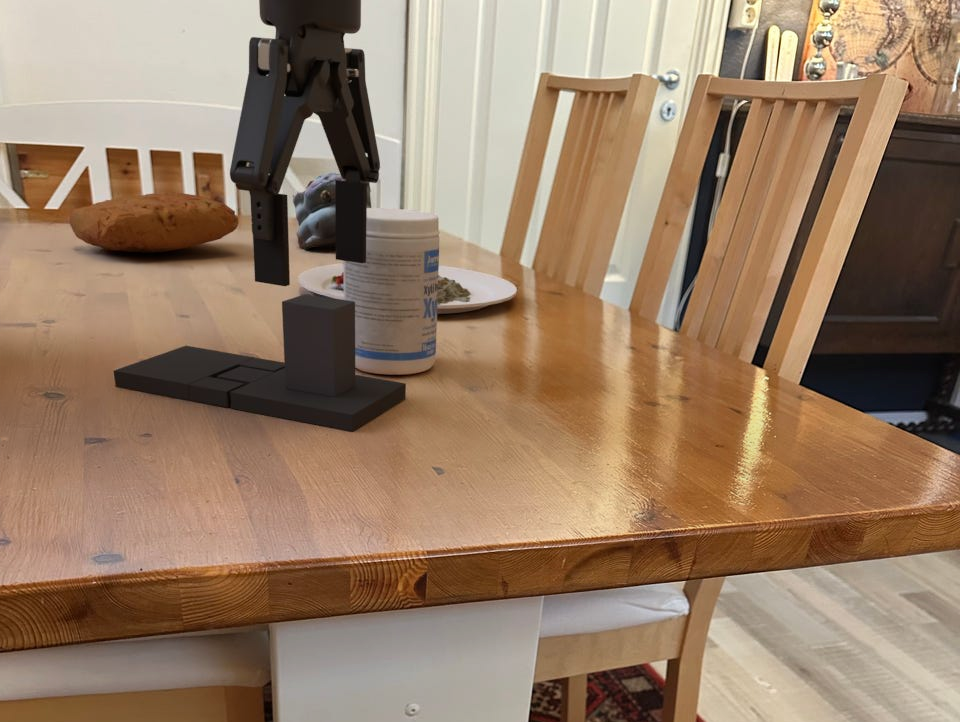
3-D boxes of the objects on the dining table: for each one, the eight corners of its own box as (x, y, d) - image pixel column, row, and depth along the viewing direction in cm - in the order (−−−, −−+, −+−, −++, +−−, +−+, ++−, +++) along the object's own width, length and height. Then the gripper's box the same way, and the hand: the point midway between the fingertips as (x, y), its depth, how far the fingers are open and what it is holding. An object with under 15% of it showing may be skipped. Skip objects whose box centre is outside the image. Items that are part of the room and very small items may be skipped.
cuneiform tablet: (199, 240, 157) (195, 188, 152) (248, 258, 146) (244, 202, 142) (65, 246, 144) (56, 189, 140) (108, 266, 133) (100, 204, 129)
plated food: (552, 317, 123) (555, 291, 121) (330, 323, 112) (330, 294, 110) (467, 274, 146) (468, 251, 144) (277, 275, 135) (276, 251, 133)
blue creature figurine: (284, 249, 154) (271, 163, 153) (314, 270, 166) (302, 190, 165) (368, 229, 150) (355, 141, 149) (393, 251, 162) (381, 170, 161)
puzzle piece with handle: (195, 401, 83) (185, 297, 78) (261, 373, 92) (255, 277, 87) (352, 431, 79) (352, 323, 74) (405, 398, 88) (408, 300, 83)
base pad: (115, 386, 85) (113, 370, 85) (187, 360, 94) (185, 345, 94) (228, 408, 82) (226, 391, 81) (291, 378, 91) (290, 363, 90)
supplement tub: (444, 377, 95) (451, 221, 87) (352, 378, 93) (351, 218, 85) (423, 353, 103) (428, 208, 95) (338, 353, 100) (336, 204, 93)
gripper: (264, -57, 57) (276, 302, 68) (423, -13, 77) (413, 258, 88) (160, -63, 59) (189, 287, 70) (343, -18, 79) (342, 248, 90)
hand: (314, 271), depth 79 cm, fingers open, 13 cm apart
